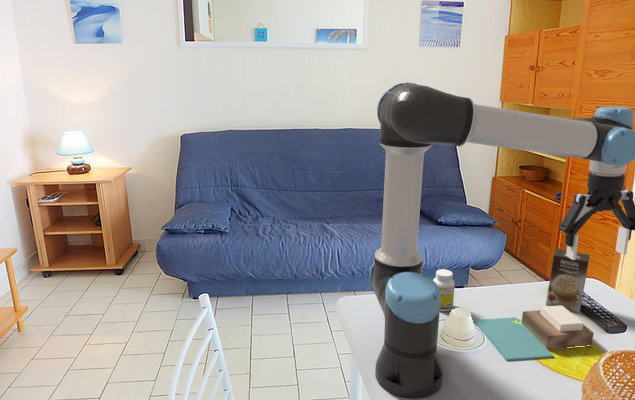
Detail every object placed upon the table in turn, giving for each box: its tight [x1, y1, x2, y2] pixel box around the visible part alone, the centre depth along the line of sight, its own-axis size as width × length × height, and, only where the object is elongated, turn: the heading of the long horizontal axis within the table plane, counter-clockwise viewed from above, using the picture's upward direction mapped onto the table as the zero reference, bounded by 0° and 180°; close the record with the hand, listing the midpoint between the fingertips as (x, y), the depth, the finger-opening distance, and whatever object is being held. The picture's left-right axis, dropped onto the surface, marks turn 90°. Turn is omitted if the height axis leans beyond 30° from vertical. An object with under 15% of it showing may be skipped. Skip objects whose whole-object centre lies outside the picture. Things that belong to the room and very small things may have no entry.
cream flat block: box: [540, 305, 584, 332], centre depth 123 cm, size 6×9×2 cm, turn 6°
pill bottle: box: [432, 268, 456, 312], centre depth 137 cm, size 6×6×11 cm
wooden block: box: [521, 309, 595, 351], centre depth 124 cm, size 12×12×4 cm
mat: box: [474, 317, 554, 362], centre depth 123 cm, size 12×18×1 cm, turn 6°
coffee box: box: [545, 248, 590, 314], centre depth 137 cm, size 9×6×16 cm
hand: (595, 255), depth 119 cm, fingers open, 13 cm apart
